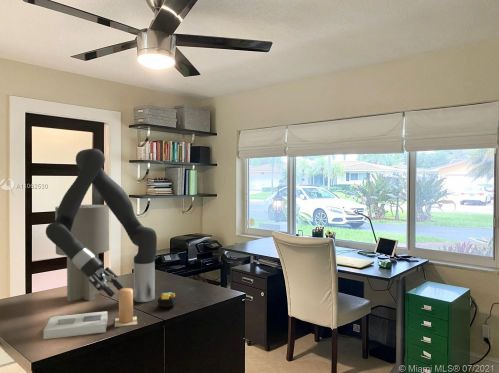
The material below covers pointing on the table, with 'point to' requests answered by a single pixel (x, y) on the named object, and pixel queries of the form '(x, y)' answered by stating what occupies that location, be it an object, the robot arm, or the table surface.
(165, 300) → the pot of gold
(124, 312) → the plug
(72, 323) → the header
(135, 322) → the pad
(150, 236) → the robot arm
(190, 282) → the table surface
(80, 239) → the lamp
